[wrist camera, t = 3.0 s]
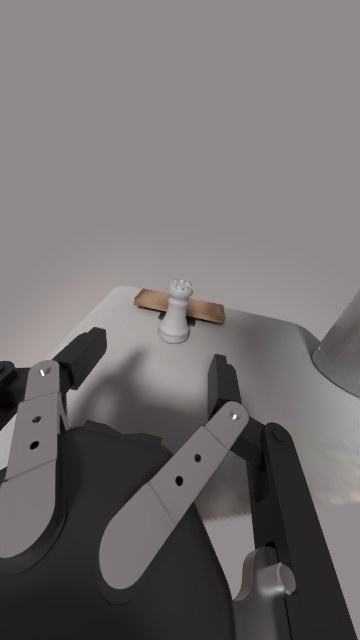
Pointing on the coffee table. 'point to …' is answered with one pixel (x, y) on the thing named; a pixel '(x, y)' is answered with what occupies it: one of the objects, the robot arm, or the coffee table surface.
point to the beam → (193, 308)
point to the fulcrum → (189, 320)
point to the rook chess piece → (176, 313)
